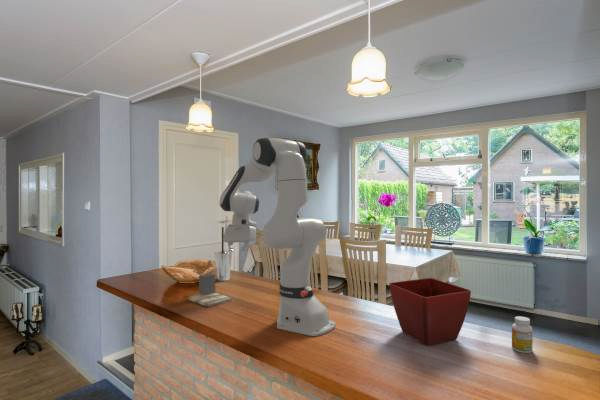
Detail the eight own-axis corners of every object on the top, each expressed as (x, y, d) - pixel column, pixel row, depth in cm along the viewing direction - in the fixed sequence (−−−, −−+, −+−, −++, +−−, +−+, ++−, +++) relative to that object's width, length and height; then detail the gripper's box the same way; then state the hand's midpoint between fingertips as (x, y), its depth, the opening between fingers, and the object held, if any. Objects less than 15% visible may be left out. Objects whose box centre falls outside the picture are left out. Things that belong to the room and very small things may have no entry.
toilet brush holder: (223, 283, 189) (222, 227, 188) (209, 280, 195) (209, 226, 195) (238, 279, 197) (237, 225, 196) (224, 276, 204) (224, 224, 203)
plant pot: (387, 329, 125) (387, 282, 125) (431, 322, 132) (431, 277, 131) (424, 352, 107) (424, 297, 107) (472, 342, 114) (472, 290, 113)
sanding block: (215, 293, 165) (215, 274, 165) (204, 296, 161) (204, 277, 160) (210, 292, 168) (209, 273, 168) (199, 295, 163) (198, 275, 163)
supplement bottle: (513, 344, 113) (513, 314, 112) (533, 349, 109) (533, 317, 109) (510, 350, 108) (510, 318, 108) (531, 355, 105) (531, 322, 105)
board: (231, 300, 159) (231, 297, 159) (209, 307, 150) (209, 304, 150) (210, 293, 169) (210, 291, 169) (188, 299, 160) (188, 297, 160)
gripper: (222, 223, 179) (218, 250, 175) (249, 220, 166) (246, 249, 162) (232, 226, 184) (228, 252, 180) (259, 223, 171) (256, 251, 167)
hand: (237, 251), depth 171 cm, fingers open, 8 cm apart
